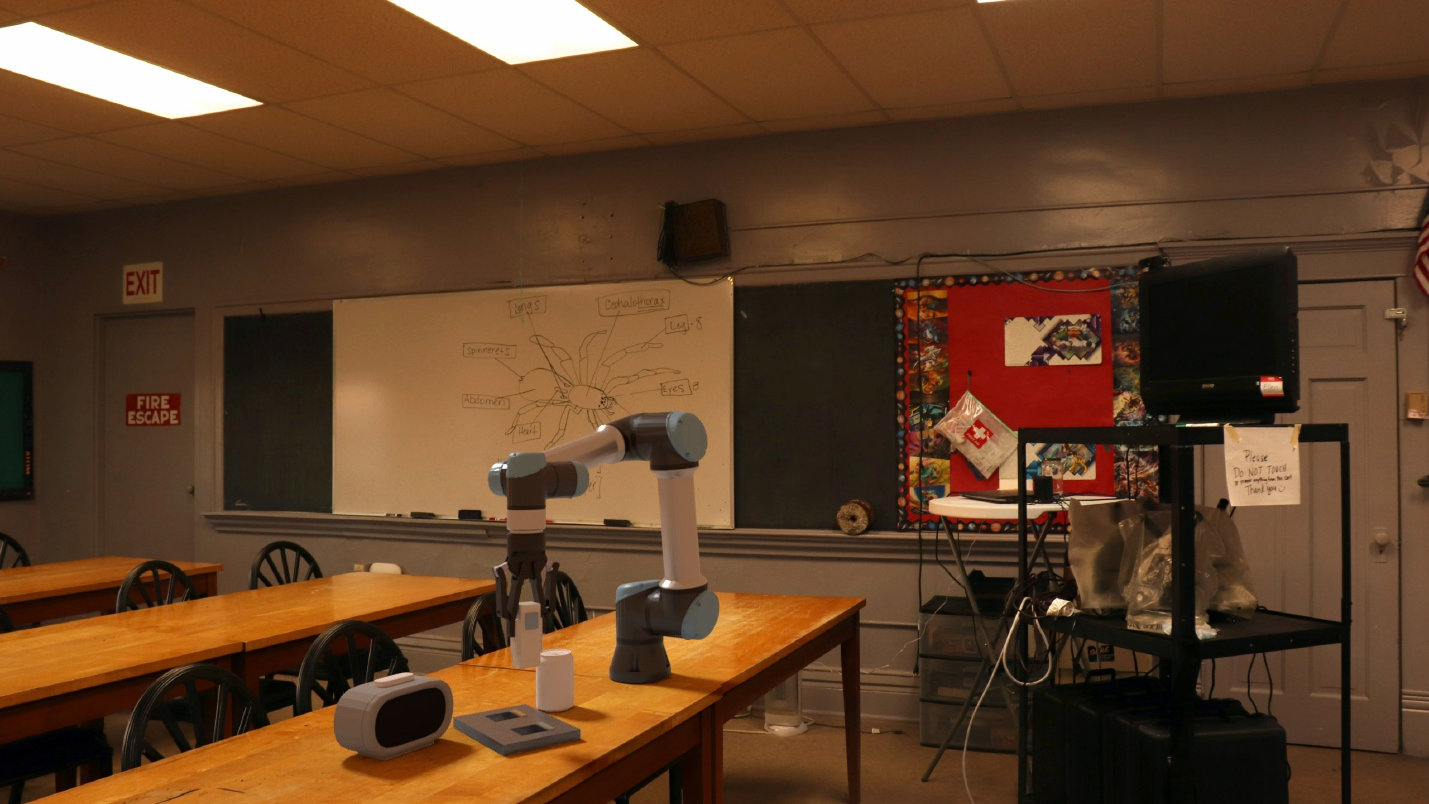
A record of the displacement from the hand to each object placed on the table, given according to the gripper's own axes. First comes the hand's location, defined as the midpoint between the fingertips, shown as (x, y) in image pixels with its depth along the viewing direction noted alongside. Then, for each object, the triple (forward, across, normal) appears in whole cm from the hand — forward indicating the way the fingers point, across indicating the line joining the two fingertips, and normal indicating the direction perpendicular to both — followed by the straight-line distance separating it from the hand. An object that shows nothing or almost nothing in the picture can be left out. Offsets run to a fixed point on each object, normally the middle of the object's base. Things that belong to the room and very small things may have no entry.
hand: (526, 652), depth 192 cm
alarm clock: (+17, +22, -10) cm, 30 cm away
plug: (+3, 0, 0) cm, 3 cm away
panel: (+17, 0, -6) cm, 18 cm away
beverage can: (+17, -15, -18) cm, 29 cm away
